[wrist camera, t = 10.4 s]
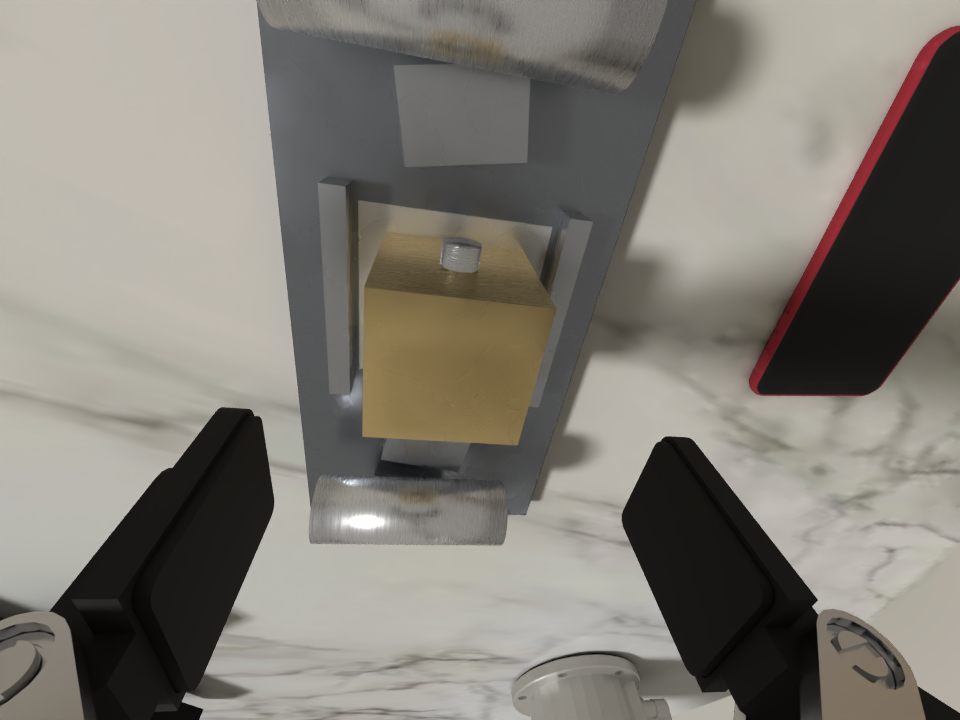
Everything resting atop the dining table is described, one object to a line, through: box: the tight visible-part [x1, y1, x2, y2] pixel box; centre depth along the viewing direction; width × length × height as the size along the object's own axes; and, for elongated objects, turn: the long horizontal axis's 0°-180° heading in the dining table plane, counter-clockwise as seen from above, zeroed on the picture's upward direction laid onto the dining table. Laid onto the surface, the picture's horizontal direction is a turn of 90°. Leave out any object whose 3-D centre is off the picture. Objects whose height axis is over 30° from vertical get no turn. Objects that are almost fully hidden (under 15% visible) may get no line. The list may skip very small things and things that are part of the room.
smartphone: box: [749, 26, 960, 396], centre depth 18 cm, size 7×1×15 cm
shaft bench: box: [256, 0, 696, 546], centre depth 14 cm, size 12×26×5 cm, turn 171°
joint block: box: [362, 232, 557, 445], centre depth 14 cm, size 5×6×5 cm
